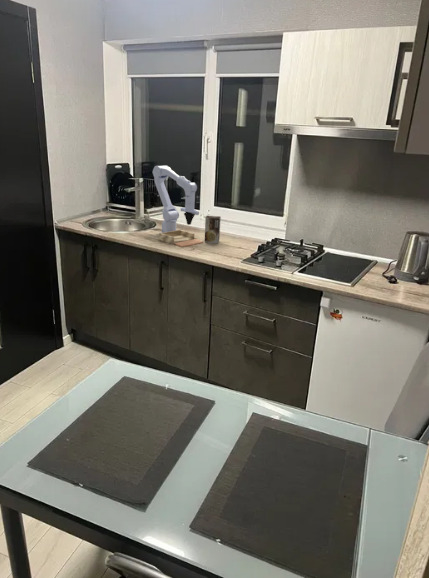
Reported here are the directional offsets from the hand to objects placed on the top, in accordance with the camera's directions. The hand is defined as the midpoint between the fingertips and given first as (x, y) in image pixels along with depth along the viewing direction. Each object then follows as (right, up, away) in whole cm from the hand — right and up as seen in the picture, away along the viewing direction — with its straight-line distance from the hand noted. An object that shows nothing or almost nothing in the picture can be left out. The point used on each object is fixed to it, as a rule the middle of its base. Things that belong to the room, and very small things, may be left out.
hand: (189, 224), depth 270 cm
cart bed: (-7, -10, -2) cm, 13 cm away
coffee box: (+14, -12, 0) cm, 18 cm away
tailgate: (-2, -12, -7) cm, 14 cm away
